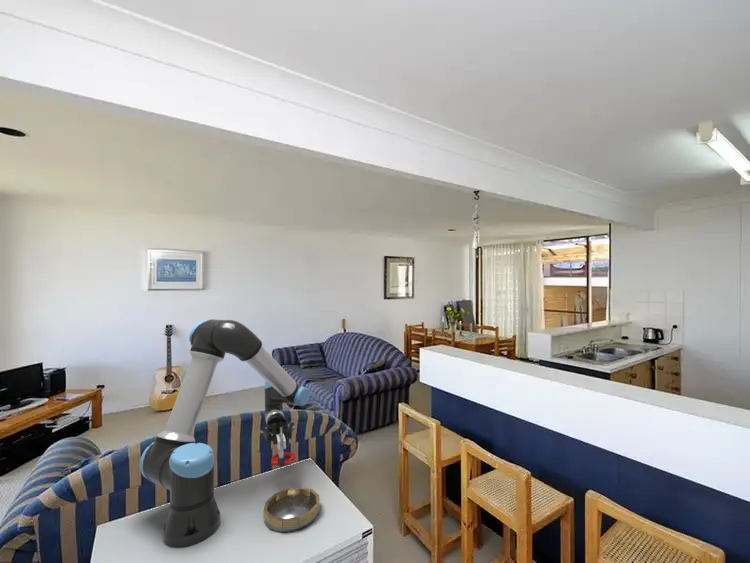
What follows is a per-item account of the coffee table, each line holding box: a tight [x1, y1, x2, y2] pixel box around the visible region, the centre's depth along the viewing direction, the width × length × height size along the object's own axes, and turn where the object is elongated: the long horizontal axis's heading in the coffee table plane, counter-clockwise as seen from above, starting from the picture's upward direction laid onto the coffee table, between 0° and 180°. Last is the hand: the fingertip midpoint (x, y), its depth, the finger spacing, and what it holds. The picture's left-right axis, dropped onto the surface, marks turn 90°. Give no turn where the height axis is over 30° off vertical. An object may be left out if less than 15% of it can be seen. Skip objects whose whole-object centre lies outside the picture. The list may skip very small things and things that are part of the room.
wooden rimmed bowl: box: [262, 486, 321, 534], centre depth 108 cm, size 17×17×4 cm
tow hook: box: [270, 427, 297, 467], centre depth 123 cm, size 8×13×9 cm
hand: (282, 445), depth 117 cm, fingers closed on tow hook
